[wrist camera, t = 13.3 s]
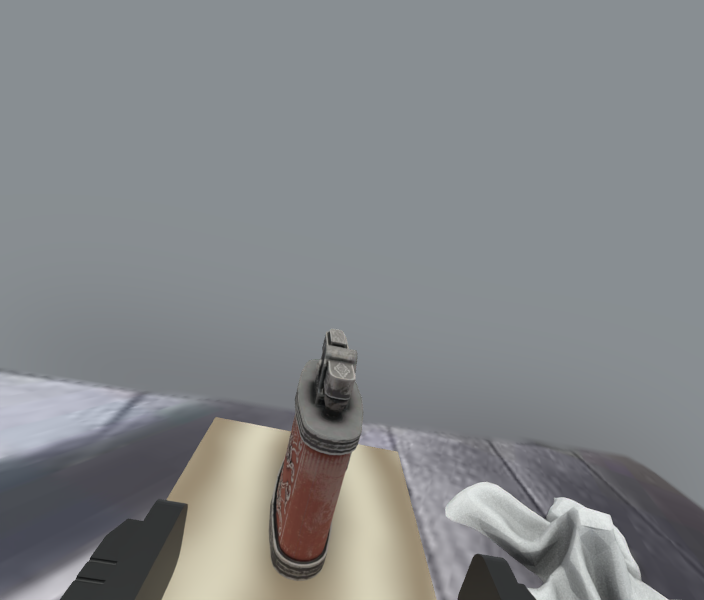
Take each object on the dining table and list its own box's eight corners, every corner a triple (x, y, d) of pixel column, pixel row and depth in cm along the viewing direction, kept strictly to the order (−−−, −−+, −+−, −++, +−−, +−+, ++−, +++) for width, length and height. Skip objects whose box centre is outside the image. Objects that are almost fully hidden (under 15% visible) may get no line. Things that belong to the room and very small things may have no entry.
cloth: (515, 809, 14) (572, 700, 13) (406, 477, 32) (425, 417, 31) (924, 813, 18) (1003, 727, 16) (618, 509, 36) (644, 456, 34)
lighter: (332, 584, 17) (389, 391, 14) (259, 577, 16) (306, 376, 14) (327, 464, 24) (363, 327, 22) (277, 457, 24) (309, 316, 22)
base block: (384, 494, 29) (397, 451, 28) (428, 747, 15) (457, 679, 14) (207, 463, 27) (215, 417, 26) (79, 710, 14) (88, 631, 13)
